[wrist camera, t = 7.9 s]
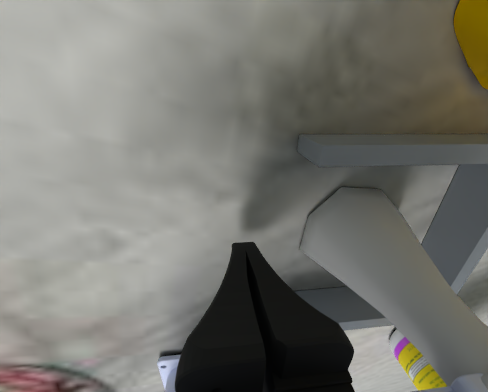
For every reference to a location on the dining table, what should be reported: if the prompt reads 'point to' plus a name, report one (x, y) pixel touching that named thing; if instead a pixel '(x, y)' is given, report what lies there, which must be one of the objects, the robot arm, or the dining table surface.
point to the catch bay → (446, 219)
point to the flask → (396, 279)
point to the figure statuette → (474, 36)
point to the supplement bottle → (414, 363)
